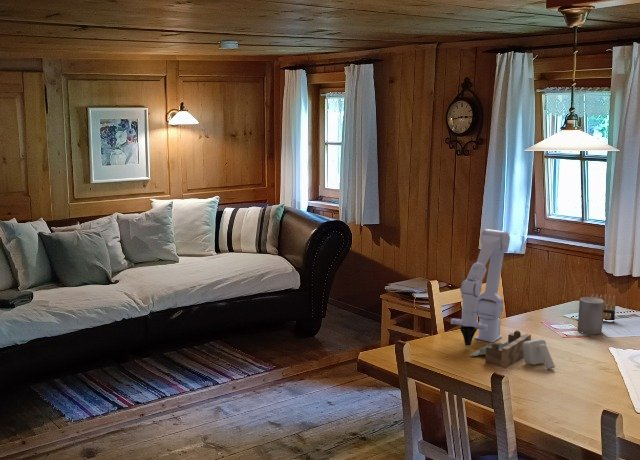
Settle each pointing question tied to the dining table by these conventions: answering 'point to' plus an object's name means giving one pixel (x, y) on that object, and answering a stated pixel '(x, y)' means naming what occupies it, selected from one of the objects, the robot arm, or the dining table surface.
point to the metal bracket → (483, 350)
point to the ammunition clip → (608, 307)
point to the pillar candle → (590, 315)
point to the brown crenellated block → (507, 350)
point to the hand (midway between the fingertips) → (467, 345)
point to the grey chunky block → (537, 353)
